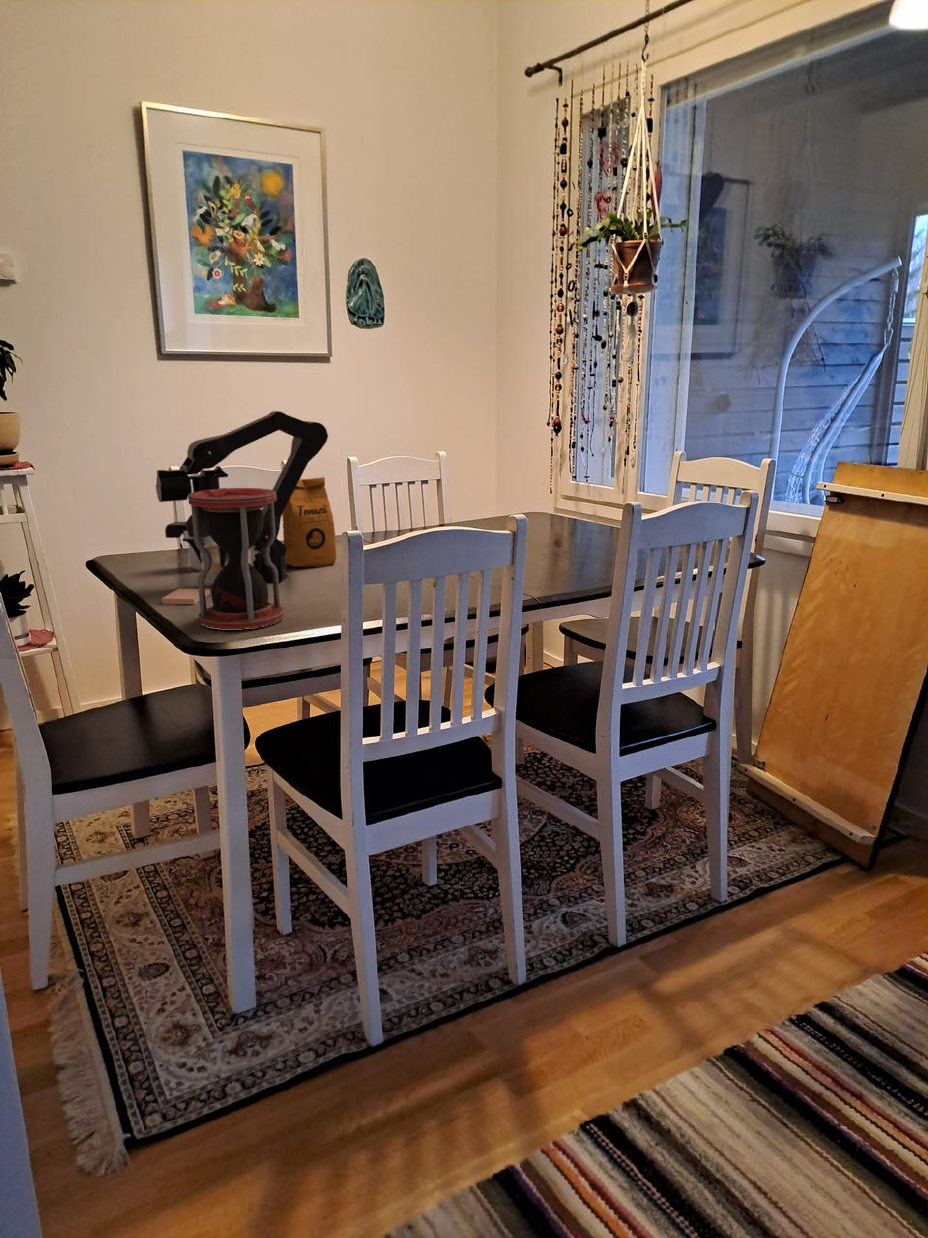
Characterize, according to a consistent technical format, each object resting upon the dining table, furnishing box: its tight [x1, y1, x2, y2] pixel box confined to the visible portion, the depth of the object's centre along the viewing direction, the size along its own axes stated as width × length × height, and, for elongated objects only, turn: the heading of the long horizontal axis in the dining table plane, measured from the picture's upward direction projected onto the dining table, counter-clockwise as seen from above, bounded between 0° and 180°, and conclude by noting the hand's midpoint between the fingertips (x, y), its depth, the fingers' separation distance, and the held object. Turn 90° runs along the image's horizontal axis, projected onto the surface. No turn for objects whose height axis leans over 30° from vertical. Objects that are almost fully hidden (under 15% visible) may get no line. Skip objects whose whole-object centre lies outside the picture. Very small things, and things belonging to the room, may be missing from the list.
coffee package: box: [281, 476, 337, 568], centre depth 214 cm, size 10×12×22 cm
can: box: [188, 536, 217, 572], centre depth 212 cm, size 8×8×12 cm
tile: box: [161, 588, 211, 605], centre depth 184 cm, size 7×2×9 cm
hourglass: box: [187, 487, 285, 629], centre depth 164 cm, size 16×16×25 cm
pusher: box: [200, 545, 223, 576], centre depth 193 cm, size 4×4×6 cm
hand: (213, 567), depth 194 cm, fingers closed on pusher, 4 cm apart
